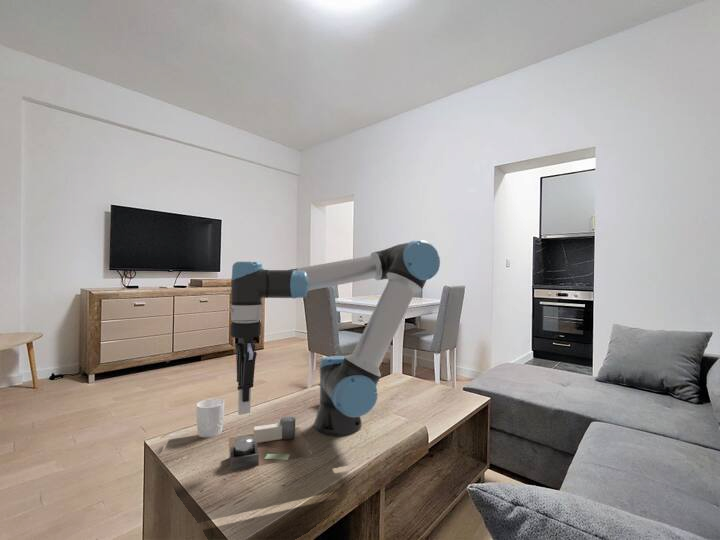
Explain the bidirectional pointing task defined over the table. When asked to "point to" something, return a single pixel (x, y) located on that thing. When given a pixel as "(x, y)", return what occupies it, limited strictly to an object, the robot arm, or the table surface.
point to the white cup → (210, 417)
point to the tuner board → (270, 451)
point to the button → (244, 445)
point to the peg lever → (275, 430)
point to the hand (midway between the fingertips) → (244, 412)
